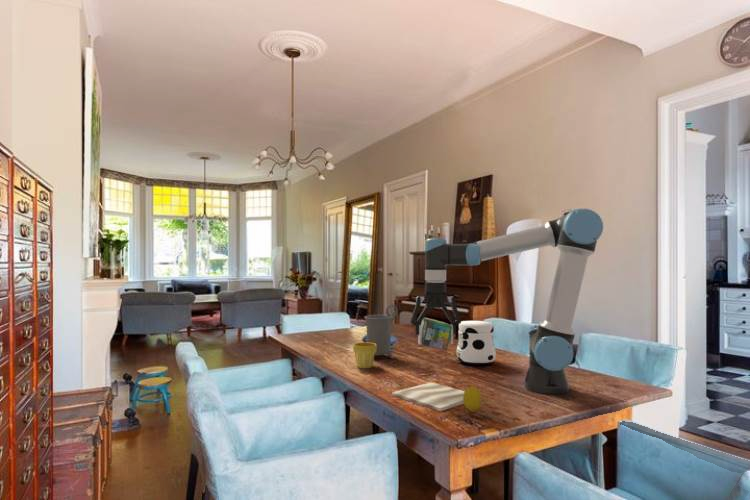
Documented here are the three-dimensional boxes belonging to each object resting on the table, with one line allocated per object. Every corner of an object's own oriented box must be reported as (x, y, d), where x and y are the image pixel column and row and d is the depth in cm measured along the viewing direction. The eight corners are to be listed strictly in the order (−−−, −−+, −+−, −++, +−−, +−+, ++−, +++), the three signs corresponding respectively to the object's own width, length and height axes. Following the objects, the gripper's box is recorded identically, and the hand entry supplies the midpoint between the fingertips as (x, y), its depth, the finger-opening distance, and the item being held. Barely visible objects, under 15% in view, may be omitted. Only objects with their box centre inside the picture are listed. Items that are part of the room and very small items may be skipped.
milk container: (502, 362, 208) (502, 322, 209) (484, 369, 195) (484, 327, 195) (468, 356, 220) (468, 319, 220) (449, 363, 206) (449, 323, 207)
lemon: (473, 416, 137) (473, 389, 138) (459, 411, 142) (459, 385, 142) (485, 412, 141) (485, 386, 141) (471, 408, 145) (471, 382, 145)
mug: (369, 361, 210) (368, 307, 210) (356, 355, 223) (356, 304, 224) (405, 358, 218) (404, 305, 218) (390, 352, 231) (390, 302, 232)
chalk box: (440, 346, 171) (449, 353, 156) (416, 340, 170) (423, 347, 155) (446, 322, 171) (455, 327, 157) (422, 316, 171) (430, 320, 156)
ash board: (479, 398, 155) (479, 395, 155) (440, 411, 142) (440, 408, 142) (431, 384, 172) (431, 382, 172) (392, 395, 159) (392, 392, 159)
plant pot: (377, 363, 206) (377, 342, 206) (375, 369, 196) (375, 346, 196) (354, 363, 207) (354, 341, 207) (351, 369, 197) (351, 346, 197)
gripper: (464, 281, 168) (464, 341, 167) (402, 281, 166) (402, 342, 166) (470, 282, 160) (470, 345, 160) (404, 282, 159) (404, 346, 158)
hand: (435, 343), depth 163 cm, fingers closed on chalk box, 11 cm apart
